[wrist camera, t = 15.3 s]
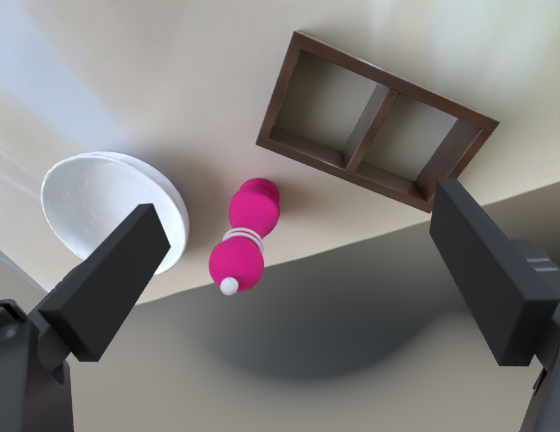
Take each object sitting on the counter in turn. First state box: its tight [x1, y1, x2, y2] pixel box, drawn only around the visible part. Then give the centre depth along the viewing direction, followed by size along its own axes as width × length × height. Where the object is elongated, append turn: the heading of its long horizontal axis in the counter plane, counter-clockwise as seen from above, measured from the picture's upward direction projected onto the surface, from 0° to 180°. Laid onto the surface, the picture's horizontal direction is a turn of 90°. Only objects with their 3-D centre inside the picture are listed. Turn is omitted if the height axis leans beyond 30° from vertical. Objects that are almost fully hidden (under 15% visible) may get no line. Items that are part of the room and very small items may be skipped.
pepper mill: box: [209, 179, 280, 295], centre depth 39 cm, size 7×7×20 cm
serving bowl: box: [41, 152, 189, 276], centre depth 47 cm, size 21×21×7 cm
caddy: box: [256, 30, 500, 214], centre depth 37 cm, size 12×24×6 cm, turn 69°
